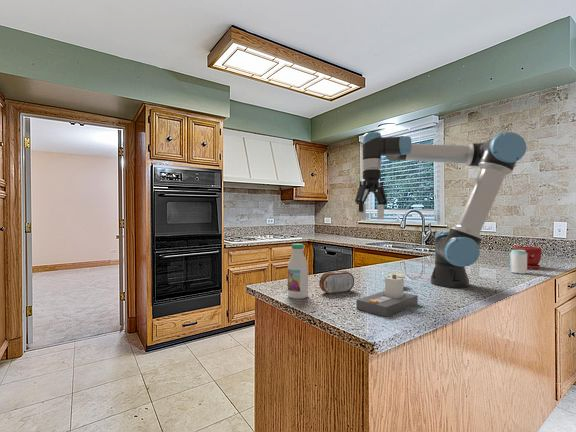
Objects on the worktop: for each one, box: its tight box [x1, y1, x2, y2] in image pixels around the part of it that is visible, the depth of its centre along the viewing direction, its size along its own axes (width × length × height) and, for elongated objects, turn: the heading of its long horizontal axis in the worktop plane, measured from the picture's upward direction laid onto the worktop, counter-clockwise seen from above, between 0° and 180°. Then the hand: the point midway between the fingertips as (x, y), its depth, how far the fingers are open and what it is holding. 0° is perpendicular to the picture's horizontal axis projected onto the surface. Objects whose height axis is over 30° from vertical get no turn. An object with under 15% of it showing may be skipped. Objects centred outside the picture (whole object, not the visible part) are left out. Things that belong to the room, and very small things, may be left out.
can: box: [509, 250, 528, 275], centre depth 163 cm, size 7×7×12 cm
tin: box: [318, 270, 355, 295], centre depth 125 cm, size 15×3×8 cm, turn 113°
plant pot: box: [511, 246, 542, 270], centre depth 178 cm, size 13×13×12 cm
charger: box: [384, 275, 404, 299], centre depth 109 cm, size 4×4×10 cm
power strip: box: [355, 290, 419, 318], centre depth 106 cm, size 20×11×4 cm, turn 131°
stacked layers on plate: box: [386, 272, 406, 284], centre depth 134 cm, size 10×9×6 cm
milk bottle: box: [287, 243, 309, 300], centre depth 119 cm, size 8×8×20 cm
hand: (371, 219), depth 134 cm, fingers open, 13 cm apart
